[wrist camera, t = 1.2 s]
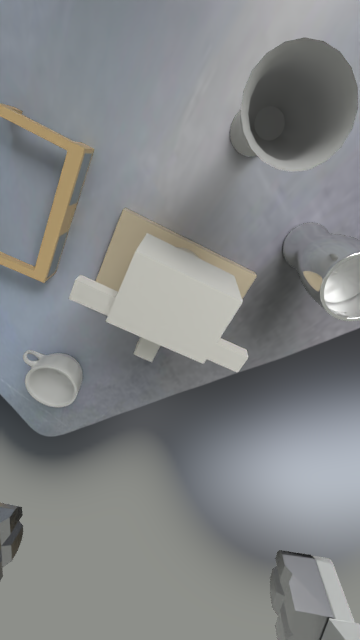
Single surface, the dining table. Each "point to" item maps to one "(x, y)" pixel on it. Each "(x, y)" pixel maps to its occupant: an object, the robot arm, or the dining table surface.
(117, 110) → the dining table surface
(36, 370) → the teacup
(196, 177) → the dining table surface
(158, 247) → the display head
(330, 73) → the chalice
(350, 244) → the beer glass
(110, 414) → the dining table surface
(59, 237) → the tan open angular frame
